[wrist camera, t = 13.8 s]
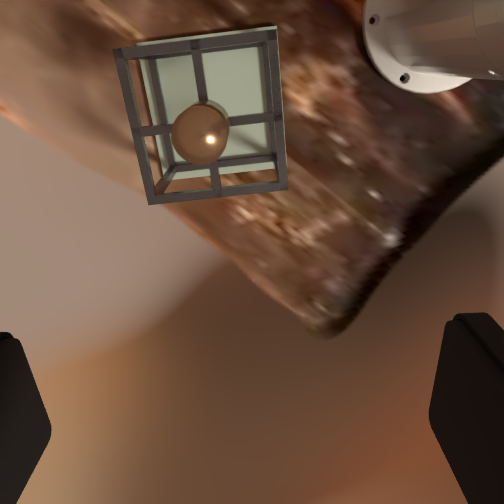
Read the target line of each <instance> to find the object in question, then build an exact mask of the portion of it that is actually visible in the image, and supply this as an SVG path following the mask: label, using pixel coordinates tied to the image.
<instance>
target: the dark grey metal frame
mask: <svg viewBox="0 0 504 504" xmlns="http://www.w3.org/2000/svg"><path fill="white" fill-rule="evenodd" d="M261 46H262V50H263V61H264V73H265V84H266V95H267V107H268V112H262V113H254V114H245V115H237V116H229V115H228V113H227V112H226V110H225V109H224V108H223V107H222V106H221V105H220V104H219V103H217V102H215V101H212V100H209V99H208V92H207V85H206V79H205V72H204V65H203V58H202V54H204V53H212V52H220V51H228V50H237V49H245V48H253V47H261ZM113 53H114V57H115V62H116V66H117V71H118V75H119V79H120V84H121V88H122V92H123V97H124V101H125V105H126V110H127V114H128V118H129V123H130V127H131V131H132V136H133V140H134V144H135V149H136V153H137V157H138V162H139V166H140V170H141V175H142V179H143V184H144V188H145V192H146V197H147V201H148V205H155V204H164V203H173V202H182V201H191V200H200V199H209V198H218V197H228V196H237V195H246V194H255V193H264V192H273V191H282V190H288V178H287V164H286V151H285V137H284V123H283V110H282V96H281V83H280V69H279V55H278V42H277V29H271V30H263V31H255V32H247V33H239V34H231V35H223V36H215V37H206V38H198V39H190V40H182V41H174V42H166V43H158V44H150V45H142V46H134V47H126V48H118V49H113ZM188 55H192V60H193V67H194V73H195V80H196V86H197V92H198V99H199V101H197V102H195V103H193V104H192V105H191V106H189V107H188V108H187V109H186V110H184V111H183V112H182V113H181V114H180V115H178V117H177V118H176V119H175V121H174V123H168V118H167V113H166V108H165V103H164V97H163V92H162V87H161V82H160V76H159V71H158V66H157V61H156V59H163V58H171V57H179V56H188ZM127 60H148V63H149V68H150V73H151V78H152V84H153V89H154V94H155V99H156V104H157V109H158V114H159V119H160V125H151V126H143V127H142V126H141V121H140V117H139V112H138V108H137V103H136V99H135V94H134V89H133V85H132V80H131V76H130V71H129V67H128V62H127ZM265 122H269V130H270V141H271V152H272V154H268V155H259V156H250V157H241V158H232V159H223V160H217V159H218V158H219V157H220V156H221V155H222V153H223V152H224V150H225V148H226V144H227V140H228V136H229V132H230V127H231V126H239V125H248V124H257V123H265ZM170 133H171V134H170ZM162 134H163V139H164V144H165V149H166V154H167V159H168V164H169V168H168V169H167V171H166V172H165V173H164V175H163V176H162V177H161V179H160V180H159V181H158V183H157V184H156V185H154V181H153V176H152V172H151V167H150V163H149V158H148V153H147V149H146V144H145V140H144V137H145V136H153V135H162ZM172 144H173V145H172ZM173 147H174V149H175V150H176V152H177V153H178V155H179V156H180V157H181V158H183V159H184V160H185V161H187V162H189V163H188V164H179V165H176V160H175V155H174V150H173ZM265 162H273V165H274V169H275V173H276V177H277V180H278V181H270V182H261V183H252V184H243V185H234V186H225V187H221V181H220V174H219V168H221V167H230V166H239V165H248V164H257V163H265ZM203 169H210V176H211V182H212V188H207V189H198V190H189V191H180V192H171V193H164V192H165V190H166V188H167V187H168V185H169V184H170V182H171V180H172V179H173V177H174V176H175V174H176V173H177V172H185V171H194V170H203Z"/></svg>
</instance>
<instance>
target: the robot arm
mask: <svg viewBox="0 0 504 504" xmlns="http://www.w3.org/2000/svg"><path fill="white" fill-rule="evenodd" d="M371 17H372V18H373V19H374V23H373V24H370V23H369V19H370V18H371ZM362 32H363V40H364V44H365V47H366V50H367V54H368V56H369V58H370V60H371V62H372V64H373V65H374V67H375V69H376V70H377V71H378V72H379V73H380V74H381V76H382V77H383V78H384V79H386V80H387V81H388V82H390V83H391V84H392V85H394V86H396V87H398V88H401V89H403V90H405V91H410V92H414V93H424V94H431V93H440V92H444V91H447V90H450V89H454V88H456V87H458V86H460V85H462V84H464V83H466V82H468V81H469V80H471V79H472V78H481V79H495V80H504V0H365V1H364V6H363V12H362ZM401 75H403V76H404V79H403V81H400V76H401ZM429 421H430V425H431V428H432V430H433V432H434V434H435V436H436V438H437V440H438V442H439V444H440V446H441V449H442V451H443V452H444V455H445V457H446V459H447V461H448V463H449V464H450V467H451V469H452V471H453V473H454V475H455V477H456V479H457V481H458V484H459V486H460V487H461V490H462V492H463V494H464V496H465V498H466V500H467V502H468V504H504V330H503V329H502V328H501V327H500V326H499V325H498V324H497V323H496V322H495V320H494V319H493V318H492V317H491V316H490V315H488V314H487V313H483V312H482V313H458V314H456V315H455V316H454V318H453V320H451V321H447V323H446V325H445V329H444V334H443V339H442V345H441V350H440V355H439V360H438V366H437V371H436V376H435V381H434V386H433V391H432V397H431V402H430V407H429ZM50 437H51V423H50V420H49V418H48V415H47V412H46V409H45V407H44V404H43V401H42V399H41V396H40V393H39V391H38V388H37V385H36V383H35V380H34V377H33V374H32V372H31V369H30V366H29V364H28V361H27V358H26V355H25V353H24V350H23V347H22V345H21V343H20V341H19V340H18V339H16V338H14V337H13V336H12V335H11V334H10V333H8V332H0V504H16V503H17V501H18V499H19V497H20V495H21V494H22V491H23V490H24V488H25V486H26V484H27V482H28V480H29V478H30V476H31V474H32V473H33V471H34V469H35V467H36V465H37V463H38V461H39V460H40V457H41V456H42V454H43V452H44V450H45V448H46V446H47V444H48V442H49V440H50Z"/></svg>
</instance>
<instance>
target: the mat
mask: <svg viewBox="0 0 504 504" xmlns="http://www.w3.org/2000/svg"><path fill="white" fill-rule="evenodd" d="M271 29H277V26H270V27H262V28H254V29H246V30H238V31H230V32H222V33H214V34H206V35H198V36H190V37H182V38H174V39H166V40H158V41H150V42H142V43H136V45H137V46H142V45H150V44H158V43H166V42H174V41H182V40H190V39H198V38H206V37H215V36H223V35H231V34H239V33H247V32H255V31H263V30H271ZM277 42H278V37H277ZM278 55H279V50H278ZM202 58H203V65H204V72H205V79H206V85H207V92H208V99H209V100H212V101H215V102H217V103H219V104H220V105H221V106H222V107H223V108H224V109H225V110H226V112H227V113H228V115H229V116H237V115H245V114H254V113H262V112H268V107H267V95H266V84H265V73H264V61H263V50H262V46H261V47H253V48H245V49H237V50H228V51H220V52H212V53H204V54H202ZM156 61H157V66H158V71H159V76H160V82H161V87H162V92H163V97H164V103H165V108H166V113H167V118H168V123H174V121H175V119H176V118H177V117H178V115H180V114H181V113H182V112H183V111H184V110H186V109H187V108H188V107H189V106H191V105H192V104H193V103H195V102H197V101H199V99H198V92H197V86H196V80H195V73H194V67H193V60H192V55H188V56H179V57H171V58H163V59H156ZM140 64H141V69H142V74H143V79H144V84H145V88H146V93H147V98H148V103H149V108H150V113H151V117H152V122H153V125H160V119H159V114H158V109H157V104H156V99H155V94H154V89H153V84H152V78H151V73H150V68H149V63H148V60H140ZM279 69H280V64H279ZM280 83H281V78H280ZM281 96H282V91H281ZM282 110H283V105H282ZM283 123H284V119H283ZM170 134H171V133H170ZM155 137H156V142H157V147H158V151H159V156H160V161H161V166H162V171H163V175H164V173H165V172H166V171H167V169H168V168H169V164H168V159H167V154H166V149H165V144H164V139H163V134H162V135H155ZM284 137H285V132H284ZM172 145H173V144H172ZM173 150H174V155H175V160H176V165H179V164H188V163H189V162H187V161H185V160H184V159H183V158H181V157H180V156H179V155H178V153H177V152H176V150H175V149H174V147H173ZM285 151H286V146H285ZM268 154H272V152H271V141H270V130H269V122H265V123H257V124H248V125H239V126H231V127H230V132H229V136H228V140H227V144H226V148H225V150H224V152H223V153H222V155H221V156H220V157H219V158H218V159H217V160H223V159H232V158H241V157H250V156H259V155H268ZM286 164H287V160H286ZM273 168H274V165H273V162H265V163H257V164H248V165H239V166H230V167H221V168H219V174H228V173H237V172H246V171H255V170H264V169H273ZM201 176H210V169H203V170H194V171H185V172H177V173H176V174H175V176H174V177H173V179H172V180H174V179H183V178H192V177H201Z"/></svg>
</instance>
